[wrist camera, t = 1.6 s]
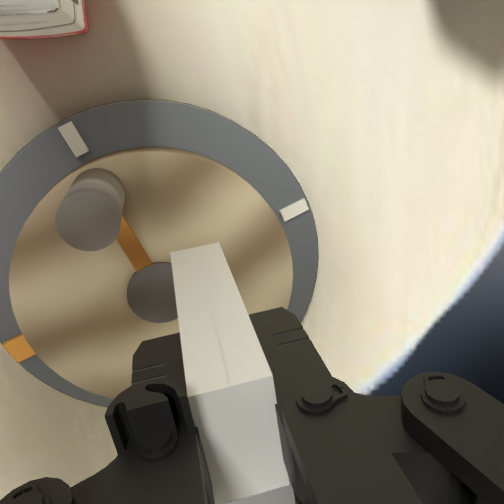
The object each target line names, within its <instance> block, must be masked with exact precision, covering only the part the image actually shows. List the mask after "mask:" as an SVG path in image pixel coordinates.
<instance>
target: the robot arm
mask: <svg viewBox="0 0 504 504" xmlns="http://www.w3.org/2000/svg"><path fill="white" fill-rule="evenodd" d="M170 255H171V263H172V272H173V280H174V288H175V297H176V305H177V313H178V322H179V330H180V332H179V333H175V334H170V335H166V336H162V337H158V338H153V339H149V340H145V341H142V342H141V344H140V345H139V347H138V348H137V350H136V351H135V353H134V354H133V360H132V379H131V383H132V385H131V386H130V387H129V388H127V389H125V390H124V391H122V392H121V393H119V394H118V395H117V396H116V397H115V399H114V400H113V401H112V402H111V403H110V404H109V406H108V409H107V411H106V414H105V419H106V422H107V425H108V427H109V430H110V433H111V436H112V439H113V442H114V444H115V447H116V450H117V453H118V456H117V457H116V458H115V459H114V460H113V461H112V462H111V463H110V464H109V465H108V466H106V467H105V468H104V469H102V470H101V471H99V472H98V473H96V474H95V475H93V476H91V477H89V478H87V479H85V480H84V481H82V482H80V483H78V484H76V485H74V486H73V487H71V488H70V487H69V485H68V484H66V483H65V482H64V481H62V480H61V479H58V478H49V477H45V478H41V479H37V480H33V481H29V482H27V483H25V484H23V485H22V486H20V487H18V488H16V489H14V490H12V491H11V492H10V493H9V494H7V495H6V496H5V497H4V498H3V499H1V500H0V504H226V503H229V502H232V501H236V500H239V499H243V498H246V497H250V496H253V495H257V494H260V493H263V492H267V491H270V490H273V489H277V488H281V487H284V486H287V485H289V479H290V481H291V484H292V487H293V490H294V495H295V502H296V504H504V404H502V403H500V402H499V401H498V400H496V399H494V398H493V397H492V396H490V395H489V394H487V393H485V392H484V391H483V390H481V389H479V388H478V387H477V386H475V385H474V384H472V383H471V382H468V381H466V380H464V379H462V378H460V377H458V376H456V375H451V374H446V373H442V372H434V373H432V372H431V373H423V374H420V375H417V376H413V377H412V378H411V379H410V380H408V381H407V382H406V383H405V384H404V387H403V389H402V392H401V396H368V395H362V394H358V393H354V392H353V391H352V390H351V389H350V388H349V387H348V386H347V385H346V384H345V383H344V382H342V381H340V380H338V379H336V378H334V377H332V376H331V374H330V372H329V371H328V369H327V367H326V366H325V364H324V362H323V360H322V359H321V357H320V355H319V354H318V352H317V350H316V349H315V347H314V345H313V344H312V342H311V340H309V337H308V335H307V333H306V332H305V330H303V327H302V325H301V323H300V322H299V320H298V318H297V317H296V315H295V314H293V313H291V312H290V311H288V310H286V309H285V308H283V307H279V308H274V309H270V310H266V311H262V312H257V313H253V314H249V315H248V313H247V310H246V308H245V305H244V303H243V300H242V298H241V296H240V293H239V291H238V288H237V286H236V283H235V281H234V278H233V276H232V273H231V271H230V268H229V266H228V263H227V261H226V258H225V256H224V253H223V251H222V248H221V246H220V243H219V242H218V243H213V244H208V245H204V246H199V247H194V248H189V249H185V250H180V251H175V252H170ZM288 476H289V479H288Z"/></svg>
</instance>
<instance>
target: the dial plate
mask: <svg viewBox="0 0 504 504" xmlns="http://www.w3.org/2000/svg"><path fill="white" fill-rule="evenodd" d="M138 147H170V148H177V149H184V150H187V151H191V152H195V153H199V154H202V155H204V156H207V157H209V158H211V159H214V160H216V161H218V162H220V163H222V164H224V165H225V166H227V167H229V168H230V169H232V170H234V171H235V172H236V173H238V174H239V175H240V176H241V177H243V178H244V179H245V180H247V181H248V183H249V184H250V185H251V186H252V187H253V188H254V189H255V190H256V191H257V192H258V193H259V194H260V195H261V196H262V197H263V199H264V200H265V201H266V202H267V204H268V205H269V206H270V208H271V209H272V210H273V212H274V213H275V215H276V216H277V218H278V220H279V222H280V224H281V226H282V228H283V229H284V232H285V235H286V238H287V240H288V243H289V247H290V252H291V257H292V266H293V283H292V292H291V297H290V302H289V306H288V309H287V310H288V311H290V312H291V313H293V314H295V315H296V317H297V318H298V320H299V322H301V321H302V319H303V317H304V315H305V313H306V311H307V308H308V305H309V303H310V300H311V297H312V295H313V290H314V286H315V282H316V278H317V269H318V259H319V258H318V238H317V232H316V226H315V221H314V217H313V214H312V211H311V208H310V205H309V202H308V200H307V198H306V196H305V194H304V192H303V190H302V188H301V186H300V184H299V182H298V181H297V179H296V178H295V176H294V175H293V173H292V172H291V170H290V169H289V167H288V166H287V165H286V164H285V163H284V161H283V160H282V159H281V158H280V157H279V156H278V155H277V154H276V153H275V152H274V150H273V149H271V148H270V147H269V146H268V145H267V144H265V143H264V142H263V141H262V140H261V139H259V138H258V137H257V136H256V135H254V134H253V133H251V132H250V131H248V130H247V129H245V128H243V127H242V126H240V125H239V124H237V123H235V122H234V121H232V120H230V119H228V118H226V117H224V116H221V115H219V114H217V113H215V112H213V111H210V110H207V109H204V108H200V107H197V106H194V105H190V104H186V103H180V102H173V101H167V100H142V99H139V100H130V101H121V102H113V103H109V104H105V105H101V106H98V107H94V108H90V109H87V110H85V111H83V112H80V113H78V114H75V115H73V116H70V117H68V118H66V119H64V120H62V121H61V122H59V123H57V124H56V125H54V126H52V127H51V128H49V129H47V130H46V131H44V132H43V133H41V134H40V135H39V136H37V137H36V138H35V139H34V140H32V141H31V142H30V143H29V144H27V145H26V146H25V147H24V148H22V149H21V150H20V151H19V152H18V153H17V154H16V156H15V157H14V158H13V159H12V160H11V161H10V162H9V163H8V164H7V165H6V166H5V168H4V169H3V170H2V172H1V173H0V342H1V344H2V346H3V347H4V348H5V349H6V350H7V351H8V353H9V354H10V355H11V356H12V357H13V358H14V359H15V360H16V361H17V363H19V364H20V365H21V366H22V367H23V368H25V369H26V370H27V371H29V372H30V373H31V374H32V375H34V376H35V377H36V378H38V379H39V380H40V381H42V382H44V383H46V384H47V385H49V386H51V387H52V388H54V389H56V390H57V391H60V392H62V393H64V394H66V395H69V396H71V397H73V398H76V399H78V400H82V401H85V402H88V403H91V404H94V405H99V406H104V407H108V406H109V404H110V403H111V402H112V401H113V400H114V399H111V398H107V397H104V396H100V395H97V394H94V393H91V392H89V391H87V390H84V389H82V388H80V387H78V386H76V385H74V384H72V383H71V382H69V381H67V380H66V379H64V378H62V377H61V376H60V375H58V374H57V373H56V372H55V371H53V370H52V369H51V368H49V367H48V366H47V365H46V364H45V363H44V362H43V361H42V360H41V359H40V358H39V357H38V356H37V355H36V353H35V352H34V351H33V349H32V348H31V346H30V345H29V344H28V342H27V341H26V339H25V337H24V336H23V334H22V332H21V330H20V328H19V326H18V324H17V321H16V318H15V315H14V312H13V310H12V304H11V299H10V294H9V270H10V263H11V256H12V253H13V250H14V247H15V243H16V240H17V238H18V236H19V234H20V232H21V230H22V228H23V225H24V223H25V222H26V220H27V219H28V217H29V216H30V215H31V213H32V212H33V210H34V209H35V207H36V206H37V205H38V203H39V202H40V201H41V199H42V198H43V197H44V196H45V195H46V194H47V192H48V191H49V190H50V189H51V188H52V187H53V186H54V185H55V184H56V183H57V182H58V181H60V180H61V179H62V178H63V177H65V176H66V175H67V174H68V173H70V172H71V171H73V170H74V169H76V168H78V167H79V166H81V165H83V164H85V163H86V162H88V161H91V160H93V159H95V158H98V157H100V156H103V155H105V154H108V153H112V152H116V151H120V150H123V149H130V148H138Z"/></svg>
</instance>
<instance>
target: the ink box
mask: <svg viewBox="0 0 504 504" xmlns="http://www.w3.org/2000/svg"><path fill="white" fill-rule="evenodd" d="M87 32H88V22H87V16H86V10H85V3H84V0H0V39H28V38H49V37H61V36H69V35H77V34H83V33H87Z"/></svg>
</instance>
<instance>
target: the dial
mask: <svg viewBox="0 0 504 504" xmlns="http://www.w3.org/2000/svg"><path fill="white" fill-rule="evenodd" d="M218 242H219V243H220V246H221V248H222V251H223V253H224V256H225V258H226V261H227V263H228V266H229V268H230V271H231V273H232V276H233V278H234V281H235V283H236V286H237V288H238V291H239V293H240V296H241V298H242V300H243V303H244V305H245V308H246V310H247V313H248V315H249V314H253V313H257V312H262V311H266V310H270V309H274V308H279V307H283V308H285V309H286V310H287V309H288V306H289V302H290V297H291V292H292V283H293V266H292V257H291V252H290V247H289V243H288V240H287V238H286V235H285V232H284V229H283V228H282V226H281V224H280V222H279V220H278V218H277V216H276V215H275V213H274V212H273V210H272V209H271V208H270V206H269V205H268V204H267V202H266V201H265V200H264V199H263V197H262V196H261V195H260V194H259V193H258V192H257V191H256V190H255V189H254V188H253V187H252V186H251V185H250V184H249V183H248V181H247V180H245V179H244V178H243V177H241V176H240V175H239V174H238V173H236V172H235V171H234V170H232V169H230V168H229V167H227V166H225V165H224V164H222V163H220V162H218V161H216V160H214V159H211V158H209V157H207V156H204V155H202V154H199V153H195V152H191V151H187V150H184V149H177V148H170V147H138V148H130V149H123V150H120V151H116V152H112V153H108V154H105V155H103V156H100V157H98V158H95V159H93V160H91V161H88V162H86V163H85V164H83V165H81V166H79V167H78V168H76V169H74V170H73V171H71V172H70V173H68V174H67V175H66V176H65V177H63V178H62V179H61V180H60V181H58V182H57V183H56V184H55V185H54V186H53V187H52V188H51V189H50V190H49V191H48V192H47V194H46V195H45V196H44V197H43V198H42V199H41V201H40V202H39V203H38V205H37V206H36V207H35V209H34V210H33V212H32V213H31V215H30V216H29V217H28V219H27V220H26V222H25V223H24V225H23V228H22V230H21V232H20V234H19V236H18V238H17V240H16V243H15V247H14V250H13V253H12V256H11V263H10V270H9V294H10V299H11V304H12V310H13V312H14V315H15V318H16V321H17V324H18V326H19V328H20V330H21V332H22V334H23V336H24V337H25V339H26V341H27V342H28V344H29V345H30V346H31V348H32V349H33V351H34V352H35V353H36V355H37V356H38V357H39V358H40V359H41V360H42V361H43V362H44V363H45V364H46V365H47V366H48V367H49V368H51V369H52V370H53V371H55V372H56V373H57V374H58V375H60V376H61V377H62V378H64V379H66V380H67V381H69V382H71V383H72V384H74V385H76V386H78V387H80V388H82V389H84V390H87V391H89V392H91V393H94V394H97V395H100V396H104V397H107V398H111V399H115V397H116V396H117V395H118V394H119V393H121V392H122V391H124V390H125V389H127V388H129V387H130V386H131V385H132V383H131V379H132V360H133V354H134V353H135V351H136V350H137V348H138V347H139V345H140V344H141V342H142V341H145V340H149V339H153V338H158V337H162V336H166V335H170V334H175V333H179V332H180V330H179V322H178V313H177V305H176V297H175V288H174V280H173V272H172V263H171V255H170V252H175V251H180V250H185V249H189V248H194V247H199V246H204V245H208V244H213V243H218Z"/></svg>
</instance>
